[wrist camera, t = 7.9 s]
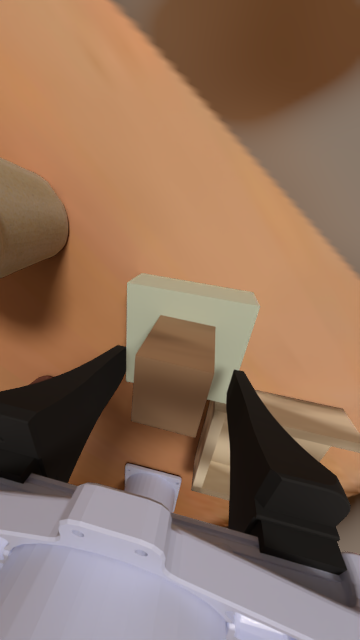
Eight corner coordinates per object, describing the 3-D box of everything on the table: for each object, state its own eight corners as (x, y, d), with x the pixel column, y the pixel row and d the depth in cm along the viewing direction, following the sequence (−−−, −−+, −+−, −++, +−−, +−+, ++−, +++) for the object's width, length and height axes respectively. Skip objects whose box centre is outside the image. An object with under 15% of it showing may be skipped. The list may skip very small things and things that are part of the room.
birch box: (291, 482, 25) (302, 520, 22) (194, 458, 26) (191, 490, 23) (343, 409, 19) (367, 445, 16) (215, 381, 20) (214, 410, 17)
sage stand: (226, 379, 20) (227, 404, 17) (137, 360, 21) (125, 381, 18) (253, 292, 16) (260, 306, 13) (141, 273, 17) (127, 282, 14)
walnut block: (201, 380, 17) (195, 438, 12) (154, 368, 17) (130, 421, 12) (215, 326, 14) (214, 373, 10) (160, 314, 15) (135, 354, 10)
